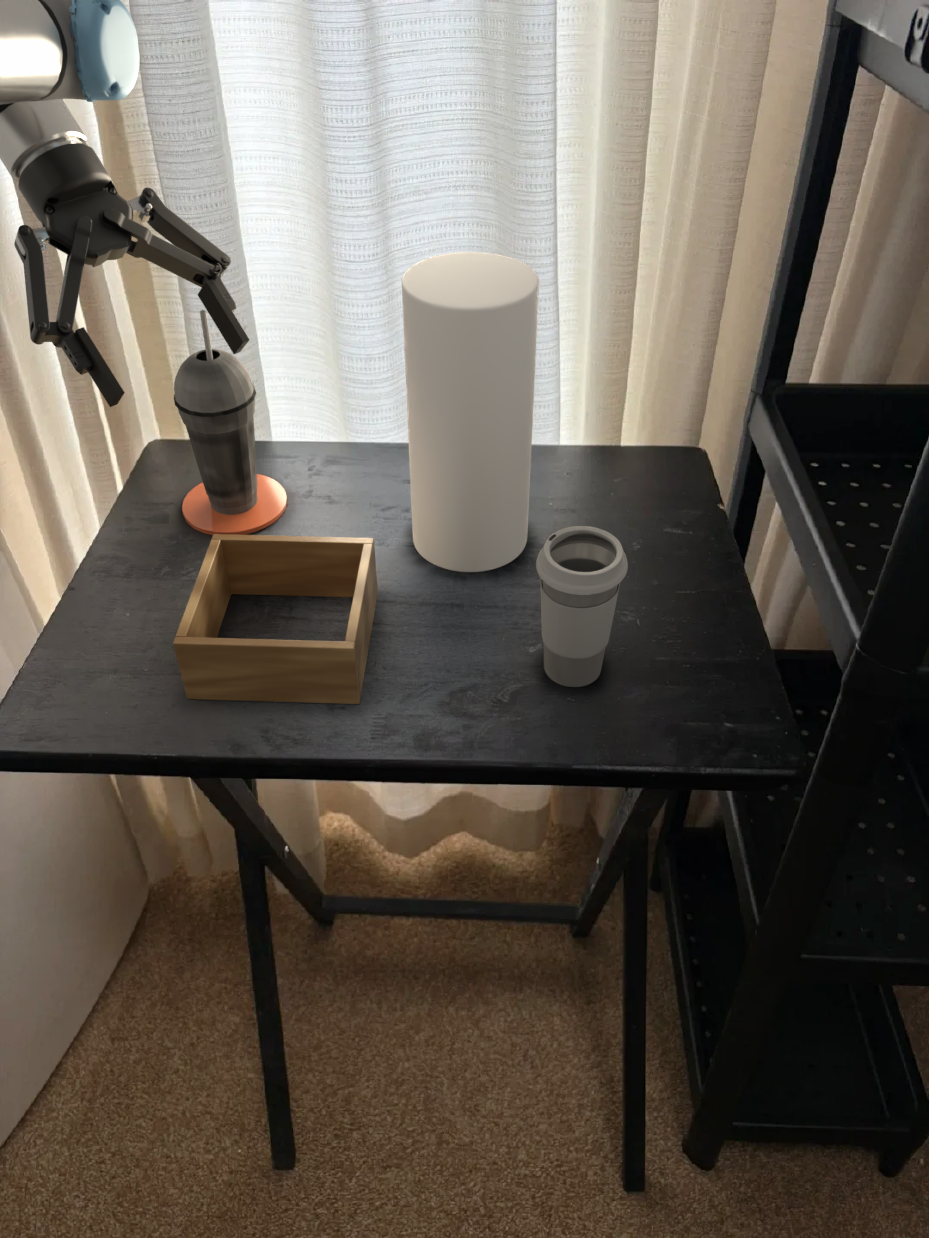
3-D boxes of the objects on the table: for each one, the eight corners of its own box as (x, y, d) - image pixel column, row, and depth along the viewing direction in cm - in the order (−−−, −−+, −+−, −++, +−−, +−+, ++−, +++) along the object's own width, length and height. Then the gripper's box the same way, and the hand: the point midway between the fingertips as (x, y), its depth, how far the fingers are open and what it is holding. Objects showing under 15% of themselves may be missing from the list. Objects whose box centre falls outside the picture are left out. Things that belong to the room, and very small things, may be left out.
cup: (560, 627, 88) (569, 511, 80) (629, 658, 85) (646, 541, 77) (513, 675, 84) (518, 558, 76) (585, 710, 81) (598, 592, 73)
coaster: (224, 550, 96) (223, 546, 96) (162, 506, 101) (161, 502, 101) (308, 504, 102) (307, 500, 101) (245, 465, 107) (244, 461, 106)
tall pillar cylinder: (402, 566, 94) (388, 303, 78) (424, 498, 102) (415, 247, 86) (519, 577, 93) (531, 313, 77) (533, 508, 101) (545, 255, 84)
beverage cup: (258, 472, 105) (228, 281, 92) (282, 511, 100) (253, 314, 87) (187, 491, 102) (145, 297, 89) (207, 531, 98) (166, 332, 84)
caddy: (359, 704, 82) (353, 648, 78) (186, 699, 82) (172, 643, 78) (377, 592, 92) (373, 537, 88) (224, 588, 92) (213, 533, 88)
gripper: (160, 155, 103) (274, 343, 106) (-85, 225, 90) (51, 440, 92) (182, 109, 97) (302, 310, 99) (-79, 177, 84) (67, 408, 86)
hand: (182, 373), depth 96 cm, fingers open, 13 cm apart
